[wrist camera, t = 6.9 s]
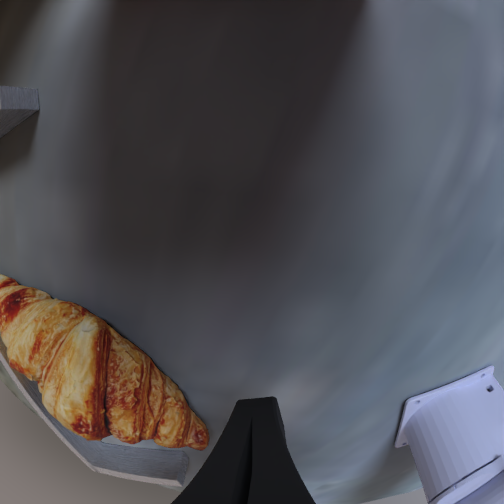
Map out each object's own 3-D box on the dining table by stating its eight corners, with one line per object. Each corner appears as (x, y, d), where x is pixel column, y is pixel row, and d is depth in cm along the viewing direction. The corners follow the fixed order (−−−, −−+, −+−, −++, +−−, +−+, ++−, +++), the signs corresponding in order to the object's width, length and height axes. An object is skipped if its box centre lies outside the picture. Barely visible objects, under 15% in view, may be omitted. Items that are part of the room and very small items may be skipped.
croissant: (20, 279, 21) (-26, 341, 16) (-3, 212, 14) (-74, 295, 8) (204, 407, 24) (171, 479, 19) (258, 395, 17) (212, 508, 11)
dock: (37, 89, 12) (-1, 85, 9) (189, 458, 23) (182, 486, 20) (-40, 154, 13) (-69, 161, 10) (102, 448, 24) (93, 470, 21)
